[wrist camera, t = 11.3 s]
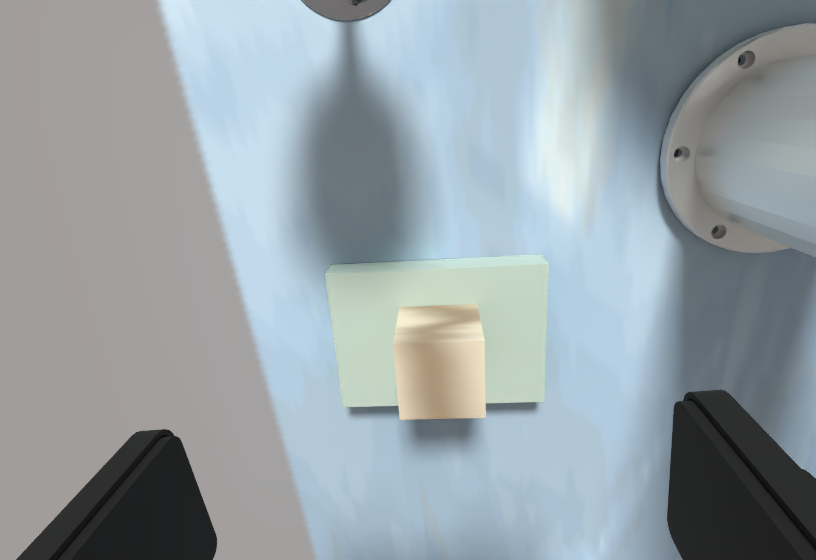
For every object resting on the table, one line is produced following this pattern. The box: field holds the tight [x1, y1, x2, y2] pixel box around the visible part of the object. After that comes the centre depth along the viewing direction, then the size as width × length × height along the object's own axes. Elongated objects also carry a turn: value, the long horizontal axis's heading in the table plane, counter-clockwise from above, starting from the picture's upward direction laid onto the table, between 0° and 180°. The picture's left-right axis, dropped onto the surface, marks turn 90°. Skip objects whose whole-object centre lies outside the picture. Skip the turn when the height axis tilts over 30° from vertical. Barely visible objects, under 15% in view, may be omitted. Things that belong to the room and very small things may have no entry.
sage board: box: [325, 254, 549, 407], centre depth 33 cm, size 14×10×2 cm
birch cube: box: [393, 304, 486, 420], centre depth 29 cm, size 5×5×5 cm
